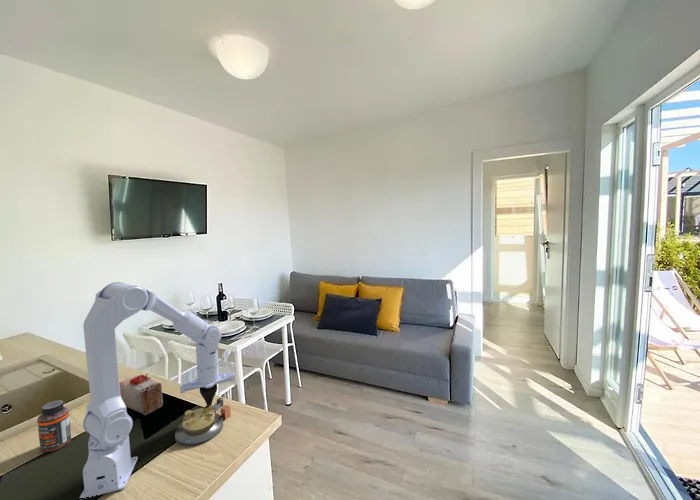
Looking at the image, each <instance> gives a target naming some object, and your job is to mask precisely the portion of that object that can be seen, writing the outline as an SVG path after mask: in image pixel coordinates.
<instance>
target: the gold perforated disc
mask: <svg viewBox="0 0 700 500" xmlns="http://www.w3.org/2000/svg"><path fill="white" fill-rule="evenodd" d="M223 406H224V398H223V397H219V398H217V399H216V402H215V403H214V404H212V405H207V404H206V405H205V406H204V407H200V408H196V409H194V410H191V409H188V410H186V411H185V412H184V417H183V418H182V422H183V431H184V433H186V434H188V435H197V434H201V433H203V432H206V431H207V430H209V429H210V428H212V427H213V426H214V424H215V413H216V412H218V410H219V409H221V408H222V407H223Z"/></svg>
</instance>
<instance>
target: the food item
mask: <svg viewBox="0 0 700 500" xmlns="http://www.w3.org/2000/svg"><path fill="white" fill-rule="evenodd" d="M119 384H120V395H121V398H122V400H123V402H124V404H125V406H126V409H130V410H133V411H135V412H137V413H140V414H142V415H144V416H146V415H149V414H150V413H153V412H154V411H157V409H161V408H162V407H163V404H164V401H163V399H164V398H163V388H162V382H157V381H156V380H153V379H152V377H149V376H148V373H146V374H140V375H134V376H129V377H127V378H126V379H123V380H122V381H119Z"/></svg>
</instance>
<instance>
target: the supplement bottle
mask: <svg viewBox="0 0 700 500" xmlns="http://www.w3.org/2000/svg"><path fill="white" fill-rule="evenodd" d="M70 421H71V419H70V410H69V408H68V407H67V406H64V401H63V400H61V399H60V400H59V399H57V400H53V401H50V402H47V403H46V404H44V405H43V406H42V407H41V414H39V416H38V417H37V421H36V422H37V431H38V439H39V440H38V441H39V449H40V452H42V453H51V452H55V451H58V450H60V449H61V448H64V447H65V446H67V445H68V444H70V442H71V440H72V432H71V431H72V429H71V422H70Z"/></svg>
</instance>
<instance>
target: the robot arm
mask: <svg viewBox="0 0 700 500" xmlns="http://www.w3.org/2000/svg"><path fill="white" fill-rule="evenodd" d="M140 311H151V312H153V313H155V314H157V315H159V316H160V317H162V318H164V319H166V320H168V321H170V322H172V327H173V329H174V330H175V331H177V332H178V333H180V334H182V335H184V336H185V337H187V338H190V339H191V340H190V341H192V342H193V343H195V353H196V358H195V359H196V377H197V378H195V379H193V380H189V381H186V382H183V383H180V384H179V389H180V390H179V391H180V394H184V393H185V392H188V391H192V390H197V389H199V393H200V395H201V397H202V398H203V400H204V403H206V406H207V405H211V406H213V400H214V398H215V396H216V393H217V391H218V385H219V384H223V383H228V382H231V383H232V382H235V381H236V375H235V372H227V373H220V372H219V343H220V341H221V339H222V335H223V333H221V332H220V328H218V326H215V325H211V324H209V320H207V319H202V318H201V317H199V316H198V312H196V311H194V310H191V311H190V310H185V311H181V310H180V309H178V308H176V307H175V306H174V305H172V304H171V303H170V302H168V301H166V300H165V299H164V298H162V297H161V296H159V295H158V294H156V293H155V292H153V291H151V290H148V289H146V288H145V287H143V286H141V285H138V284H129V283H128V284H126V283H125V282H124V283H123V282H121V281H116V282H115V281H114V282H110V283H109V284H107V285H105V286H104V287H103V288H102V289H101V290H99V291H97V293H95V298H94V302H93V304H92V306H91V308H90V309H89V312H88V313H87V315H86V317H85V319H84V321H83V325H82V326H83V327H82V328H83V337H84V346H85V356H86V367H87V375H88V378H87V379H88V386H89V395H90V401H89V402H88V403H87V404H86V405H85V407H86V413H85V416H84V418H83V420H82V428H83V430H84V431H85V432H86V433H88V434H89V439H88V442H87V443H88V444H87V447H88V457H87V460H86V462H85V464H84V466H83V469H82V479H83V487H84V488H83V491H82V492H81V494H80V496H79V499H80V498H85V499H87V498H86V497H89V498H92V496H93V497H96V495H97V496H100V495H104V494H108V493H113V492H117V491H120V490H123V489H125V487H126V485H127V483H128V481H129V479H130V477H131V475H132V472H133V470H134V468H135V466H136V463H137V461H138V456H133V457H131V455H132V454H131V445H130V435H129V434H130V433H131V430H132V428H133V425H134V424H133V422H134V421H133V418H132V417H131V416H130V415H129V414H128V412H127V411H128V410H127V407H126V406H125V404H124V402H123V400H122V398H121V395H120V384H119V383H120V376H119V364H118V354H117V353H118V351H117V342H116V341H117V340H116V331H115V330H116V328H117V327H118V326H119V325H120V324H121V323H122V322H123V321H125V320H126V319H129V318H130V317H132V316H134V315H135V314H137V313H138V312H140Z"/></svg>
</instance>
